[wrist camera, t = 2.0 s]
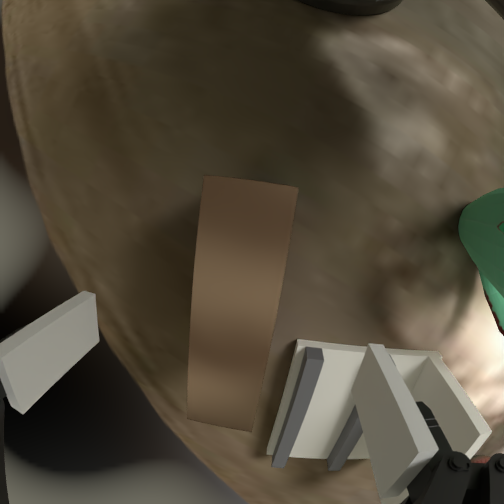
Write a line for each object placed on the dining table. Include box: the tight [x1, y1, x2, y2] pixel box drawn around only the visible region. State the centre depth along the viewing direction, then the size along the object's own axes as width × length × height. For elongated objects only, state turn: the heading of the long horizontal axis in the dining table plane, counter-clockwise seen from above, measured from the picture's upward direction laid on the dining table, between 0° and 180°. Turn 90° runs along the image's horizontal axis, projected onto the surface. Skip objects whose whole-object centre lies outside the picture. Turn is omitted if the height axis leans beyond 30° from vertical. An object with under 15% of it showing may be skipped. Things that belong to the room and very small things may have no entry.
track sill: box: [266, 339, 492, 504], centre depth 22 cm, size 17×16×13 cm
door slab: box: [187, 175, 299, 432], centre depth 19 cm, size 14×4×12 cm, turn 172°
